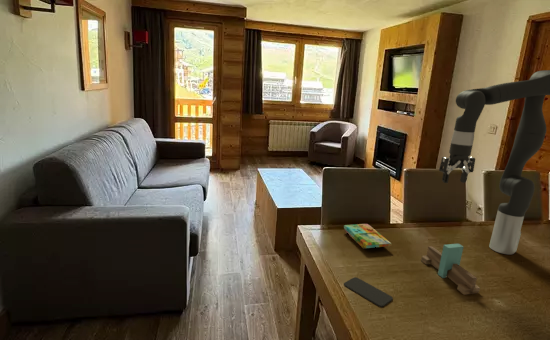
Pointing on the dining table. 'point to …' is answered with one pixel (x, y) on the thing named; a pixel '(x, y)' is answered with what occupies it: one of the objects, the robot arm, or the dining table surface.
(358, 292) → the phone
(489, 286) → the dining table surface
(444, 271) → the slotted tab
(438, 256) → the slotted rail
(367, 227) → the puzzle game
